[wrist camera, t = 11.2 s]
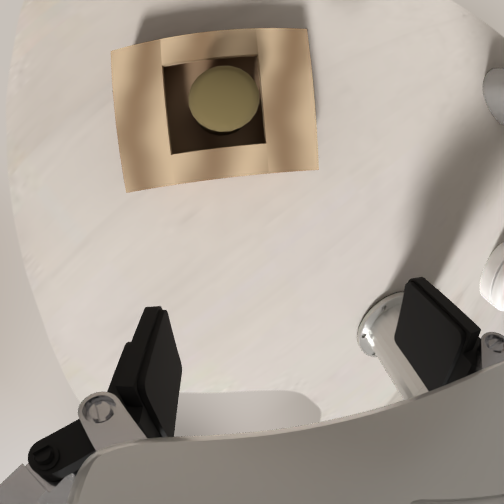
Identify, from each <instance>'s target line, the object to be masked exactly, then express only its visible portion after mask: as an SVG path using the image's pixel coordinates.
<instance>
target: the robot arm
mask: <svg viewBox="0 0 504 504" xmlns="http://www.w3.org/2000/svg"><path fill="white" fill-rule="evenodd" d="M480 331H481V329H480V328H479V327H478V326H477V325H476V324H475V323H474V322H473V321H472V320H471V319H470V318H469V317H467V316H466V315H465V314H464V313H463V312H462V311H461V310H460V309H459V308H458V307H457V306H456V305H454V304H453V303H452V302H451V301H450V300H449V299H448V298H447V297H446V296H444V295H443V294H442V293H441V292H440V291H439V290H438V289H436V288H435V287H434V286H433V285H432V284H431V283H429V282H428V281H427V280H426V279H425V278H423V277H419V278H413V279H410V280H409V281H408V283H407V284H406V285H405V290H404V292H399V293H395V294H392V295H390V296H388V297H386V298H384V299H382V300H381V301H380V302H378V303H377V304H376V305H375V306H374V307H373V308H372V309H371V310H370V311H369V312H368V313H367V314H366V316H365V317H364V319H363V320H362V322H361V324H360V327H359V329H358V334H357V341H358V344H359V346H360V348H361V350H362V351H363V352H364V353H365V354H366V355H368V356H371V357H378V359H379V360H380V362H381V364H382V365H383V367H384V368H385V370H386V372H387V373H388V375H389V377H390V378H391V380H392V382H393V383H394V385H395V386H396V388H397V390H398V391H399V393H400V395H401V397H402V398H403V401H400V402H397V403H394V404H390V405H387V406H384V407H380V408H377V409H373V410H370V411H366V412H362V413H358V414H354V415H350V416H346V417H342V418H337V419H332V420H328V421H323V422H318V423H312V424H307V425H301V426H295V427H290V428H282V429H276V430H267V431H258V432H249V433H237V434H224V435H208V436H181V437H174V430H175V421H176V413H177V404H178V397H179V390H180V382H181V375H182V365H181V361H180V358H179V354H178V351H177V347H176V343H175V340H174V336H173V332H172V328H171V324H170V320H169V316H168V312H167V310H162V308H161V307H160V306H156V307H145V309H144V312H143V314H142V316H141V319H140V321H139V324H138V326H137V329H136V331H135V334H134V336H133V339H132V341H131V342H128V343H126V345H125V347H124V349H123V352H122V354H121V357H120V359H119V362H118V365H117V367H116V370H115V372H114V375H113V378H112V381H111V383H110V386H109V389H108V391H107V392H96V393H94V394H91V395H89V396H88V397H86V398H85V399H84V400H83V401H82V402H81V404H80V406H79V408H78V416H79V419H78V420H76V421H75V422H73V423H71V424H69V425H67V426H66V427H64V428H62V429H60V430H58V431H56V432H55V433H53V434H51V435H49V436H47V437H45V438H43V439H41V440H39V441H38V442H36V443H35V444H34V445H33V446H32V447H31V449H30V451H29V454H28V462H29V463H28V464H27V465H26V466H25V465H24V464H22V465H20V466H19V467H18V468H17V469H16V470H15V471H14V472H13V473H12V474H11V475H10V476H9V477H8V478H7V479H6V480H5V481H3V482H2V483H1V484H0V504H504V336H503V335H501V334H499V333H495V332H488V333H485V334H484V335H483V336H482V338H481V339H480V338H479V337H478V336H479V334H480Z"/></svg>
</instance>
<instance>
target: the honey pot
mask: <svg viewBox="0 0 504 504" xmlns="http://www.w3.org/2000/svg"><path fill="white" fill-rule="evenodd" d="M480 293H481V295H482V297H483V298H485V299H486V300H487V301H488V302H489V303H490V304H492V305H493V306H494V307H496V308H497V309H498V310H500V311H504V242H503V243H501V244H500V245H499V246H497V247H496V248H495V250H494V251H493V252H492V254H491V255H490V257H489V258H488V260H487V262H486V264H485V266H484V269H483V272H482V275H481V279H480Z"/></svg>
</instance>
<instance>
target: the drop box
mask: <svg viewBox="0 0 504 504" xmlns="http://www.w3.org/2000/svg"><path fill="white" fill-rule="evenodd" d="M216 66H232V67H236V68H240V69H241V70H243V71H245V72H246V73H248V74H249V75H250V76H251V77H252V79H253V80H254V81H255V82H256V85H257V87H258V90H259V105H258V109H257V112H256V113H255V115H254V116H253V118H252V119H251V120H250V121H249V122H248V123H247V124H245V125H244V127H243V128H241V129H240V130H239V131H237V132H235V133H233V134H230V135H223V136H218V135H214V134H210V133H208V132H207V131H205V130H203V129H202V128H201V127H200V126H199V124H198V123H197V121H196V119H195V118H194V116H193V115H192V113H191V110H190V107H189V97H188V95H189V92H190V89H191V86H192V84H193V83H194V81H195V80H196V78H197V77H198V76H199V75H200V74H202V73H203V72H205V71H206V70H208V69H211V68H213V67H216ZM111 69H112V85H113V98H114V109H115V119H116V128H117V136H118V144H119V151H120V158H121V164H122V171H123V177H124V182H125V188H126V193H128V192H134V191H139V190H145V189H151V188H157V187H163V186H169V185H176V184H183V183H190V182H197V181H204V180H212V179H220V178H228V177H237V176H247V175H257V174H267V173H279V172H291V171H306V170H319V165H318V144H317V127H316V113H315V100H314V88H313V78H312V68H311V59H310V50H309V42H308V34H307V29H296V28H250V29H232V30H219V31H209V32H201V33H193V34H186V35H180V36H174V37H168V38H163V39H158V40H153V41H148V42H144V43H140V44H136V45H132V46H128V47H124V48H120V49H117V50H113V51H111Z"/></svg>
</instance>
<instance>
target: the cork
mask: <svg viewBox="0 0 504 504" xmlns="http://www.w3.org/2000/svg"><path fill="white" fill-rule="evenodd" d="M188 97H189V107H190V110H191V113H192V115H193V116H194V118H195V119H196V121H197V123H198V124H199V126H200V127H201V128H202V129H203V130H205V131H207V132H208V133H210V134H214V135H218V136H223V135H230V134H233V133H235V132H237V131H239V130H240V129H241V128H243V127H244V125H245V124H247V123H248V122H249V121H250V120H251V119H252V118H253V116H254V115H255V113H256V112H257V109H258V105H259V90H258V87H257V85H256V82H255V81H254V80H253V79H252V77H251V76H250V75H249V74H248V73H246V72H245V71H243V70H241V69H240V68H236V67H232V66H216V67H213V68H211V69H208V70H206V71H205V72H203V73H202V74H200V75H199V76H198V77H197V78H196V80H195V81H194V83H193V84H192V86H191V89H190V92H189V95H188Z"/></svg>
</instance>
